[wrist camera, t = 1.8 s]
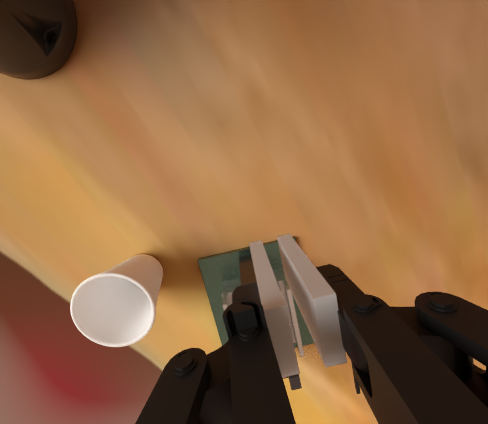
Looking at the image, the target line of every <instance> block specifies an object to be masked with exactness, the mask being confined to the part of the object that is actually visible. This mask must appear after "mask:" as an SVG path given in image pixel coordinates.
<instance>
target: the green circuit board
mask: <svg viewBox="0 0 488 424" xmlns="http://www.w3.org/2000/svg"><path fill="white" fill-rule="evenodd" d="M292 238H293V239H294V240H295V242H296V238H295V237H292ZM263 246H264V248H265V251H266V254H267V257H268V259H269V262H270V265H271V267H272V270H273V273H274V276H275V278H276V281H277V284H278V286H279V289H280V292H281V295H282V297H283V300H284V303H285V306H286V310H287V315H288V320H289V325H290V329H291V334H292V339H293V343H294V348H295V347H297V348H298V351H299V354H300V357H301V356H304V351H303V345H308V344H312V343H314V341H313V338H312V336H311V334H310V332H309V329H308V327H307V325H306V323H305V321H304V318H303V316H302V314H301V312H300V310H299V307H298V305H297V303H296V301H295V298H294V296H293V294H292V292H291V290H290V287H289V285H288V283H287V281H286V278H285V274H284V269H283V264H282V259H281V254H280V250H279V245H278V240H276V241H272V242H268V243H264V244H263ZM198 263H199V266H200V270H201V273H202V277H203V280H204V284H205V287H206V291H207V294H208V298H209V301H210V305H211V308H212V312H213V315H214V319H215V322H216V326H217V329H218V333H219V336H220V340H221V343H222V346H223V345H224V344H225V343H226V342H227V341H228V335H227V331H226V328H225V324H224V321H223V317H222V316H223V312H224V310H225V309H226V308H227V307H228V306H229V305H231V304H232V293H233V291H234V290H235V288H236V287H237V286H241V285H246V284H250V283H254V282H257V280H256V275H255V271H254V266H253V261H252V256H251V251H250V247H246V248H242V249H238V250H233V251H229V252H225V253H220V254H216V255H212V256H207V257H203V258H199V259H198ZM288 378H289V382H290V386H291V389H292V390H295V389H300V388H301V383H300V378H299V374H295V375H291V376H288Z"/></svg>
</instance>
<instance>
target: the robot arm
mask: <svg viewBox="0 0 488 424" xmlns="http://www.w3.org/2000/svg"><path fill="white" fill-rule="evenodd" d="M76 33H77V19H76V12H75V7H74V4H73V1H72V0H0V73H2V74H5V75H7V76H10V77H14V78H19V79H36V78H40V77H44V76H47V75H49V74H51V73H53V72H54V71H56V70H57V69H58V68H59V67H61V66H62V65H63V64H64V62H65V61H66V60H67V58H68V57H69V55H70V53H71V51H72V49H73V46H74V43H75V39H76ZM277 240H278V245H279V250H280V254H281V259H282V264H283V269H284V274H285V278H286V281H287V283H288V285H289V287H290V290H291V292H292V294H293V296H294V298H295V301H296V303H297V305H298V307H299V310H300V312H301V314H302V316H303V318H304V321H305V323H306V325H307V327H308V329H309V332H310V334H311V336H312V338H313V341H314V343H315V345H316V347H317V349H318V352H319V354H320V356H321V358H322V360H323V363H324V365H325V367H330V366H334V365H338V364H343V363H347V360H346V354H345V351H346V352H347V354H348V356H349V357H350V359H351V362H352V369H353V375H354V382H355V388H356V392H357V394H359V393H360V388H361V390H362V392H363V394H364V396H365V398H366V400H367V402H368V404H369V406H370V408H371V410H372V411H373V413H374V415H375V417H376V419H377V421H378V423H379V424H488V310H486V309H484V308H481V307H479V306H477V305H475V304H473V303H471V302H468V301H466V300H464V299H462V298H460V297H457V296H454V295H451V294H448V293H442V292H426V293H422V294H420V295H418V296H417V297H416V299H415V307H390V306H388V305H387V304H386V303H385V302H384V301H383V300H381V299H380V298H378V297H375V296H373V295H367V294H364V293H363V292H362V291H361V290H360V289H359V288H358V287H357V286H356V285H355V284H354V283H353V282H352V281H351V280H349V278H348V277H347V276H346V275H345V274H344V273H343V272H342V271H341V270H340V269H339V268H338V267H335V266H333V265H331V264H328V265H324V266H320V267H315V266H314V265H313V263H312V262H311V261H310V260H309V258H308V257H307V256H306V254H305V253H304V252H303V251H302V249H301V248H300V247H299V245H298V244H297V243H296V242H295V240H294V239H293V238H292V236H291V235H290V234H286V235H282V236H278V237H277ZM249 246H250V251H251V256H252V261H253V266H254V271H255V275H256V280H257V282H254V283H250V284H246V285H241V286H237V287H236V288H235V290H234V291H233V293H232V304H231V305H229V306H228V307H227V308H226V309H225V310H224V312H223V316H222V317H223V321H224V324H225V328H226V331H227V335H228V341H227V342H226V343H225V344H224V345H223V346H222V347H220V348H219V349H217V350H215V351H213V352H211V353H209V354H207V355H206V354H205V351H203V350H201V349H200V348H190V349H186V350H183V351H181V352H180V353H178V354H176V355H175V356H174V357H173V358H171V359H170V361H169V362H168V363H167V365H166V366H165V368H164V370H163V372H162V374H161V375H160V377H159V379H158V382H157V383H156V385H155V387H154V389H153V391H152V393H151V395H150V397H149V399H148V401H147V402H146V404H145V406H144V408H143V410H142V412H141V414H140V416H139V418H138V420H137V422H136V423H135V424H296V423H295V420H294V416H293V413H292V409H291V406H290V402H289V399H288V396H287V392H286V389H285V385H284V382H283V378H282V377H287V376H291V375H295V374H300V372H299V367H298V362H297V358H296V353H295V348H294V343H293V339H292V334H291V329H290V325H289V320H288V315H287V310H286V306H285V303H284V300H283V297H282V295H281V292H280V289H279V286H278V284H277V281H276V278H275V276H274V273H273V270H272V267H271V265H270V262H269V259H268V257H267V254H266V251H265V248H264V246H263V243H262V240H260V241H256V242H252V243H249ZM473 358H474V359H476V360H477V361H479V362H480V363H482V364H483V365H485V366H486V370H482V369H481V368H479V367H477V366H476V365H474V364H473ZM359 386H360V387H359Z"/></svg>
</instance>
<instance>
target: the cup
mask: <svg viewBox="0 0 488 424" xmlns="http://www.w3.org/2000/svg"><path fill="white" fill-rule="evenodd" d="M162 278H163V268H162V266H161V264H160V262H159V261H158V260H157V259H156V258H154V257H152V256H150V255H146V254H139V255H135V256H133V257H131V258H129V259H127V260H125V261H124V262H122V263H120V264H118V265H116V266H114V267H112V268H110V269H108V270H106V271H104V272H103V273H101V274H97V275H94V276H92V277H89V278H88V279H86V280H85V281H83V282H82V283H81V284H80V285H79V286H78V287H77V289H76V290H75V292H74V293H73V296H72V299H71V307H70V309H71V316H72V319H73V321H74V323H75V325H76V327H77V328H78V330H79V331H81V333H82V334H83V335H84V336H86V337H87V338H88V339H90V340H92V341H94V342H96V343H98V344H101V345H104V346H111V347H122V346H127V345H131V344H133V343H136V342H137V341H139V340H141V339H142V338H143V337H144V336H145V335H147V334H148V332H149V331H150V329H151V328H152V326H153V323H154V321H155V315H156V310H155V309H156V304H157V300H158V295H159V291H160V287H161V282H162Z"/></svg>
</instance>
